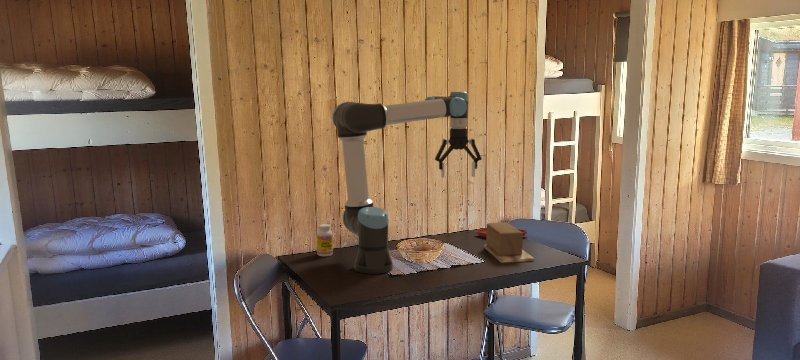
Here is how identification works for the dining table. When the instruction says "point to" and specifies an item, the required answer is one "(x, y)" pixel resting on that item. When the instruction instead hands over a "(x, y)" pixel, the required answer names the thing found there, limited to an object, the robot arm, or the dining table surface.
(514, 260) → the board
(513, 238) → the block
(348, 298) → the dining table surface
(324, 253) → the supplement bottle
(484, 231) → the plant saucer
